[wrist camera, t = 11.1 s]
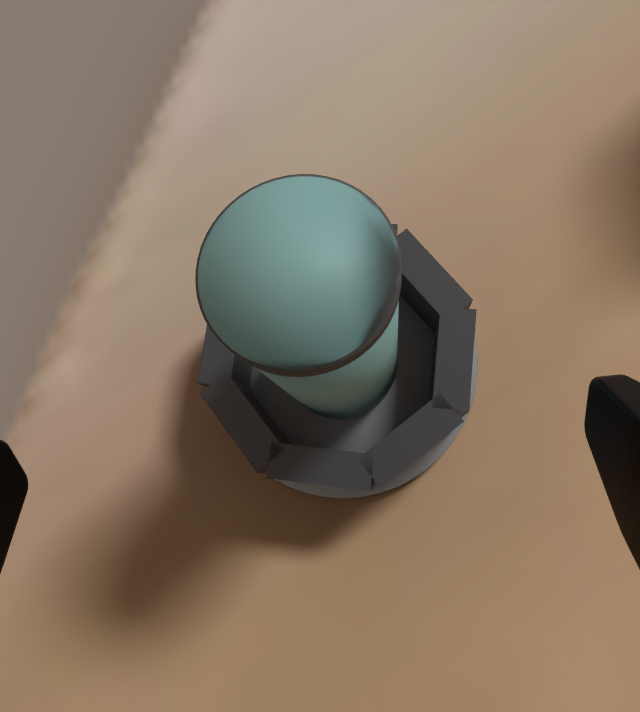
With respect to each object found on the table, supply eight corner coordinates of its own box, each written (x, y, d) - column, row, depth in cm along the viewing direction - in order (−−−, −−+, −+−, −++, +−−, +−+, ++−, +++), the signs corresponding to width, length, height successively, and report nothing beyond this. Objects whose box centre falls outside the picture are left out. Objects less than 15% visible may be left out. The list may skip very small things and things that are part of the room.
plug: (411, 403, 21) (428, 340, 11) (297, 432, 21) (216, 395, 11) (381, 294, 22) (371, 150, 12) (273, 324, 22) (179, 206, 12)
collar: (466, 515, 20) (478, 521, 17) (197, 479, 22) (166, 480, 19) (484, 250, 22) (497, 216, 19) (236, 235, 24) (214, 201, 21)
